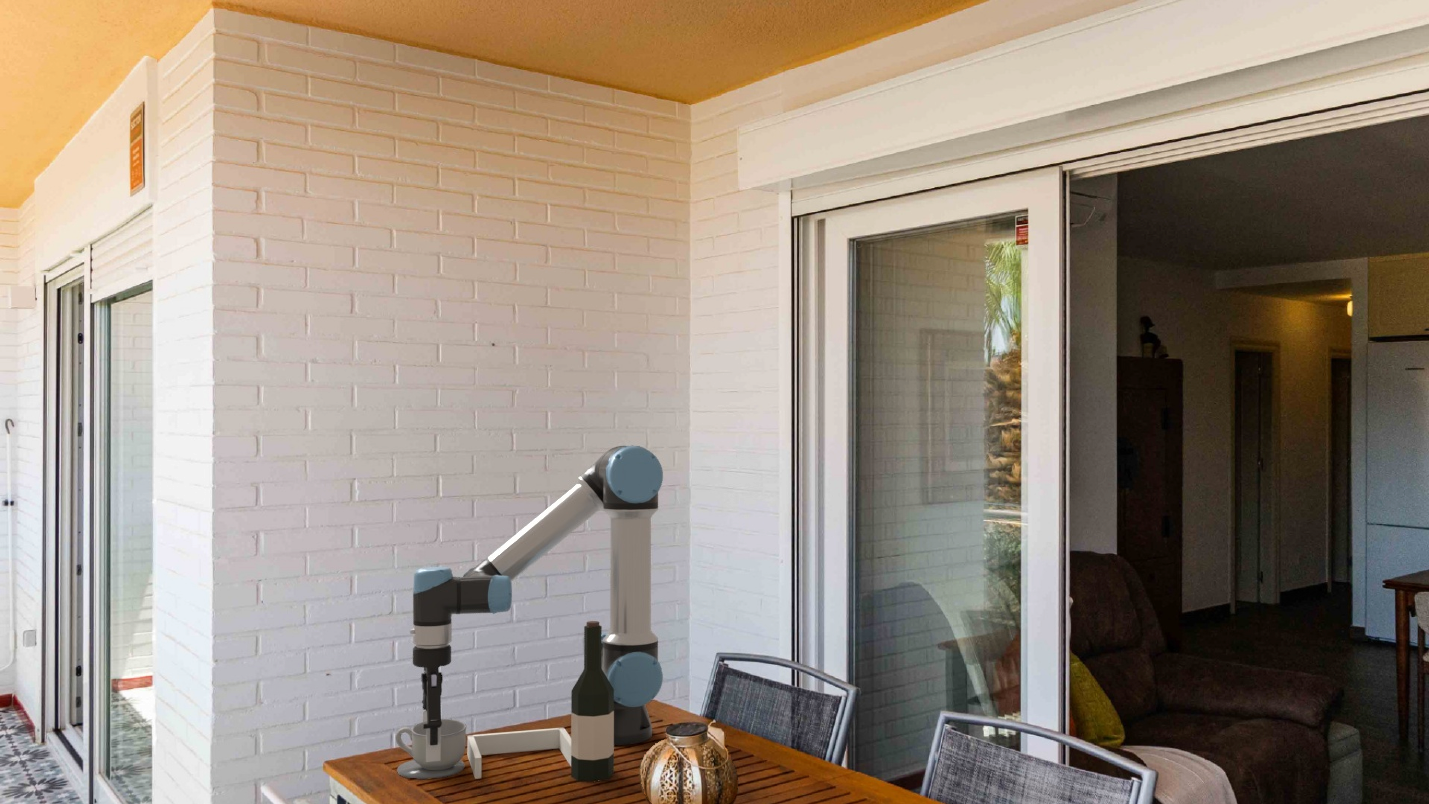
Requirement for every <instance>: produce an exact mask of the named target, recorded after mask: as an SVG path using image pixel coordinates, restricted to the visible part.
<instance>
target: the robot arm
mask: <svg viewBox="0 0 1429 804" xmlns="http://www.w3.org/2000/svg"><path fill="white" fill-rule="evenodd" d="M663 479H664V471H663V467H662V464H661V462H660V460H659V459H658V458H657V456H656V455H655V454H654V453H653V452H651V451H650V450H648V449H647V448H645V447H642V446H640V445H632V444H631V445H618V446H615V447H612V448H610V449H608V450H607V451H605V453H603V454H602V455H601V456H600V457H599V458H598V459H597V460H596V461H595V462H594V463H593V464H592V465H591V466H590V467H588V469H586V470H585V472H583V473H582V474H581V475H579V477H577V481H576V482H577V483H576V484H575V486H573V487H572V488H570V490H568V491H567V492H566V493H564V494H563V495H562V496H561V497H560V498H558V499H557V500H556V501H555V502H553V503H552V504H551V505H550V506H549V507H548V508H546V509H545V510H543V511H542V512H540V514H538V515H537V516H536V517H535V518H534V519H532V520H531V521H530V522H529V523H527V524H526V525H525V526H523V528H522V529H520V530H519V531H518V532H517V533H515V535H513V536H512V537H510V538H509V540H506V542H504V543H503V544H502V545H501V546H499V547H498V548H497V549H495V550H494V551H493V552H492V553H490V555H489V556H488V557H487V558H485V559H484V560H482V561H481V562H479V564H478V565H476V566H474V567H472V568H469V569H467V571H466V572H465V573H464V574H463V575H462V576H454V575H453V570H452V569H451V568H450V567H448V566H427V567H421V568H418V569H417V570H416V571H415V572H414V574H413V590H412V607H413V608H412V613H413V615H412V617H413V618H412V619H413V620H412V621H413V622H412V623H413V628H412V629H410V630H409V634H410V635H413V638H412V640H413V641H412V643H413V644H414V647H412V665H414V666H415V667H417V668H423V672H421V675H420V676H421V677H420V678H421V684H422V685H421V687H422V701H421V703H422V710H423V711H422V722H425V721H427V724H424V726H423V729H426V762H432V761H441V725H442V722H441V719H442V704H441V702H442V701H441V700H442V699H441V696H442V692H443V688H442V685H443V678H444V677H443V673H442V672H441V671H439V669H440V667H446V666H448V665H450V664H451V663H452V646H451V645H450V644H451V643H452V641H453V640H452V638H453V636H452V633H453V631H452V630H453V629H452V627H453V623H452V615H463V614H464V615H465V614H467V615H468V614H469V615H470V614H493V615H494V614H498V613H506V612H509V611H510V610H511V608H512V603H513V600H512V599H513V587H512V586H513V585H512V583H513V582H514V580H516V579H517V578H518V577H519V576H521V575H522V574H523V573H524V572H526V571H527V570H528V569H529V568H530V567H531V566H533V565H534V564H535V563H536V562H538V561H539V560H540V559H542V557H544V556H545V555H547V554H548V553H549V551H550V552H551V550H552V549H554V548H555V547H556V546H557V545H558V544H560V543H561V542H562V541H564V539H566V538H567V537H568V536H569V535H571V534H572V533H573V532H574V531H575V530H577V529H578V528H579V527H580V526H583V524H584V523H585V522H586V521H588V520H589V519H590V518H592V517H593V516H594V515H595V514H596V513H597V512H599V511H603V512H605V513H606V514H607V515H608V516H609V518H610V550H609V551H610V555H609V556H610V559H609V560H610V566H609V567H610V568H609V569H610V572H609V573H610V574H609V575H610V578H609V579H610V580H609V584H610V585H609V586H610V588H609V589H610V590H609V591H610V595H609V597H610V599H609V600H610V602H609V603H610V605H609V607H610V608H609V609H610V610H609V611H610V612H609V615H610V616H609V619H610V621H609V624H610V625H609V626H610V627H609V628H610V629H609V632H603V633H602V653H601V669H602V670H603V672H604V674H605V675H606V677H607V679H608V680H609V682H610V684H611V685H612V687H613V689H614V746H626V745H634V744H640V743H643V742H646V741H648V740H650V739H651V738H652V737H653V733H652V732H653V727H652V721H651V719H650V716H649V713H648V709H647V707H646V706H647V705H646V704H648V703H650V702H651V701H652V700H654V699H655V697H656V696H658V694H659V692H660V690H661V688H662V686H663V681H664V676H663V675H664V674H663V670H662V669H663V668H662V666H661V663H660V662H659V638H658V637H657V636H656V635H655V633H654V632H653V631H652V623H651V622H652V608H651V607H652V605H651V604H652V603H651V602H652V595H651V594H652V591H651V590H652V585H651V584H652V580H651V579H652V570H651V569H652V517H653V515H655V513H657V512H658V510H659V492H660V490H661V487H662V483H663ZM431 720H434V721H431Z"/></svg>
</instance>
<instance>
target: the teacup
mask: <svg viewBox="0 0 1429 804" xmlns="http://www.w3.org/2000/svg"><path fill="white" fill-rule="evenodd" d="M431 721H434V720H431ZM441 722H442V725H441V761H432V762H426V729H423V726H424V724H427V721H425V722H423V721H422V722H419V723H416V724H415V725H413V726H412V727H411V728H410V727H409V726H403V727H401V728H399V729H398V730H397V732H396V734H395V742H396V744H397V745H398V747H399V748H400V749H402V750H404V752H406V753H408V754H409V755H410V756H409V757H412V758H413V760H415V762H416V763H417V764H419V765H420V766H421V767H422V768H424V769H427V770H443V769H448V768H451V767H453V766H454V765H455V764H456V763H457V762H458V761H460V760H461V761H462V758H463V757H464V755H465V753H466V744H467V740H466V739H467V737H466V736H467V733H466V731H467V724H466V723H465V722H464V721H460V720H457V719H449V718H441ZM403 733H406V734H408V735H409V739H410V741H411V746H410V745H407V744H406V743H405V742H404V741H403V739H402V735H403Z"/></svg>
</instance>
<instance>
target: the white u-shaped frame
mask: <svg viewBox="0 0 1429 804" xmlns="http://www.w3.org/2000/svg"><path fill="white" fill-rule="evenodd" d="M466 736H467V737H466V739H467V740H466V744H467V745H466V749H467V750H466V753H467V759H468V762H469V764H470V767H471V772H472V774H473V777H474V779H475V780H476V779H477V780H478V779H482V756H487V755H488V756H489V755H498V754H508V753H510V754H511V753H520V752H531V751H543V750H552V749H553V750H554V749H555V750H556V749H559V750H560V751H561V753H562V755H563V756H564V758H565V760H566V761H567V763H568V765H569V766H570V767H571V735H570V734H569V732H568V731H567V730H566V729H565V727H555V728H553V727H552V728H544V729H543V728H542V729H529V730H519V731H517V730H516V731H506V732H493V733H481V734H466Z"/></svg>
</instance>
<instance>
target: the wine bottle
mask: <svg viewBox="0 0 1429 804" xmlns="http://www.w3.org/2000/svg"><path fill="white" fill-rule="evenodd" d="M583 629H584V630H583V638H584V640H583V650H584V651H583V652H584V653H583V671H581V673H580V675H579V677H578V679H577V680H576V682H575V684H574V686H573V688H572V689H571V693H570V694H571V698H570V699H571V703H570V705H571V711H570V712H571V714H570V716H571V718H570V719H571V720H570V721H571V726H570V729H571V730H570V731H571V732H570V737H571V766H570V767H571V768H570V777H571V778H573V779H574V780H576V781H577V782H586V781H587V783H589V782H590V783H595V782H594V781H597V782H599V781H598V780H602V781H606V779H608V780H610V779H611V778H612V777H613V776H614V775H613V774H615V772H614V771H615V770H614V769H615V768H614V766H615V765H614V764H615V762H614V759H615V756H614V755H615V750H614V749H615V745H614V689H613V687H612V685H611V684H610V682H609V680H608V679H607V677H606V675H605V674H604V672H603V670H602V669H601V653H602V631H603V630H602V629H603V627H602V625H600V621H598V620H596V621H595V620H589V621H587V622H586V625H585V626H583ZM612 775H613V776H612ZM611 776H612V777H611Z"/></svg>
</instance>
